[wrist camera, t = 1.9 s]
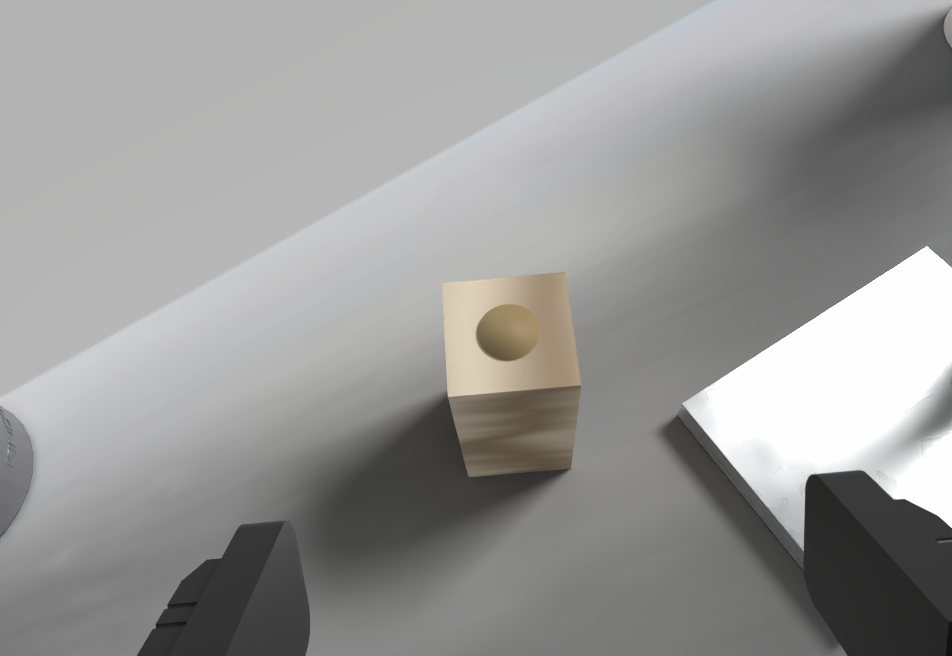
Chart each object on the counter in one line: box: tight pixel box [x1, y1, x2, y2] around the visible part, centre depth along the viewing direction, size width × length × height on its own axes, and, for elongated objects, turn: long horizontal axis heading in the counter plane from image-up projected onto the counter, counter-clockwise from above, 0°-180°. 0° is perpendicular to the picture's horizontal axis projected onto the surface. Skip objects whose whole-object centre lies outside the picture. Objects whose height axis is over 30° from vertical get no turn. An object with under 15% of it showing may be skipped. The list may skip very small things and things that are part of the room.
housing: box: [442, 272, 581, 477], centre depth 35 cm, size 5×5×10 cm
